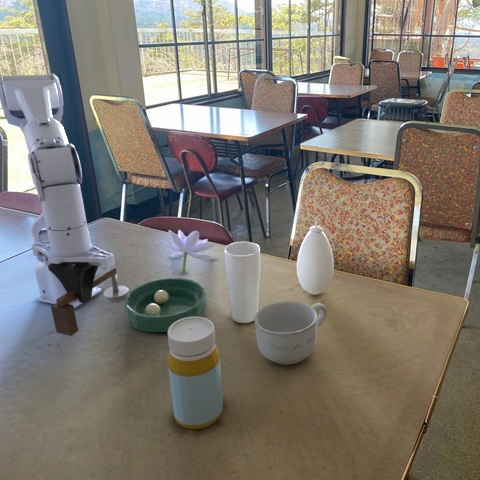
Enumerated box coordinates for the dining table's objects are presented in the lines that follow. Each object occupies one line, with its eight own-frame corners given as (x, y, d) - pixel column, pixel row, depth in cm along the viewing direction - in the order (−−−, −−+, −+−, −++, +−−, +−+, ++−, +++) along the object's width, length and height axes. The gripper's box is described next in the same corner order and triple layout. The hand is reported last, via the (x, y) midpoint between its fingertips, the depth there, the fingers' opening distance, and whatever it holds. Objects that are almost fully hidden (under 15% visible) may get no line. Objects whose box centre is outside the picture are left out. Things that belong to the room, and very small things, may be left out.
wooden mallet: (115, 289, 92) (110, 260, 90) (134, 293, 91) (130, 264, 88) (53, 331, 79) (45, 299, 76) (74, 337, 78) (67, 304, 75)
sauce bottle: (290, 297, 103) (291, 218, 96) (305, 281, 109) (306, 206, 102) (324, 305, 100) (327, 224, 93) (337, 288, 107) (341, 212, 100)
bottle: (179, 398, 74) (169, 315, 68) (225, 396, 74) (219, 314, 68) (170, 433, 67) (158, 344, 61) (220, 431, 68) (214, 343, 62)
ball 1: (143, 319, 92) (141, 306, 91) (151, 312, 94) (150, 299, 93) (155, 322, 91) (153, 309, 90) (164, 314, 94) (162, 302, 93)
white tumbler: (255, 329, 91) (253, 258, 85) (222, 324, 93) (217, 253, 87) (266, 310, 98) (265, 243, 92) (234, 306, 99) (231, 239, 93)
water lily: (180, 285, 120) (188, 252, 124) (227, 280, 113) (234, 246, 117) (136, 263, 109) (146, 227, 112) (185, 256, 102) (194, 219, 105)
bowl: (109, 326, 91) (106, 308, 89) (157, 289, 104) (155, 273, 103) (179, 342, 87) (177, 324, 85) (220, 301, 100) (219, 284, 99)
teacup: (269, 380, 78) (268, 339, 75) (246, 344, 87) (245, 306, 84) (343, 357, 84) (345, 318, 81) (315, 326, 93) (316, 289, 90)
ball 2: (152, 305, 97) (150, 293, 96) (160, 298, 99) (158, 286, 98) (164, 307, 96) (162, 295, 95) (172, 300, 99) (170, 288, 97)
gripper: (8, 226, 74) (27, 302, 79) (85, 240, 70) (100, 319, 75) (45, 211, 80) (61, 283, 86) (118, 223, 76) (129, 297, 82)
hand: (81, 298), depth 81 cm, fingers closed on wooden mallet
